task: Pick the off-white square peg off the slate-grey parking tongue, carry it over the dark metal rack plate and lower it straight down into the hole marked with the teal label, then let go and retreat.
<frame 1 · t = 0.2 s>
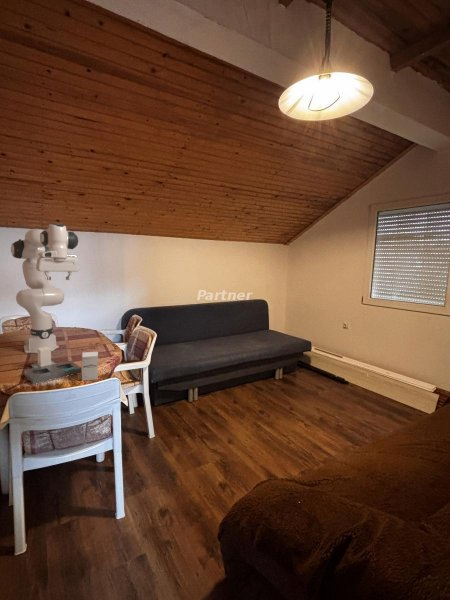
hand: (58, 280, 161), 47 cm above the table, fingers open, 8 cm apart
rack plate: (53, 374, 152), on the table
parking tongue: (44, 366, 161), on the table
supplement box: (89, 378, 151), on the table
peg: (44, 364, 161), point 1 cm above the table, touching parking tongue
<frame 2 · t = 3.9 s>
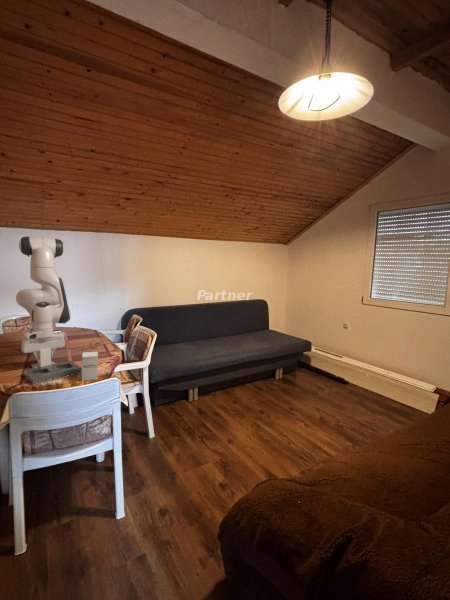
hand: (44, 357, 161), 5 cm above the table, fingers closed on peg, 5 cm apart
peg: (44, 364, 161), point 1 cm above the table, touching gripper, parking tongue
everything else where it was.
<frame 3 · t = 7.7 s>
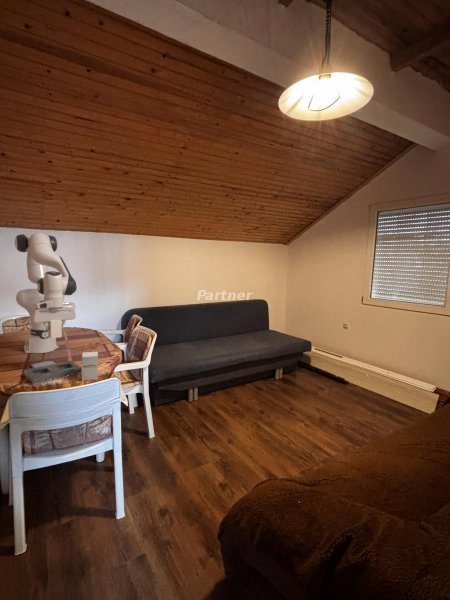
hand: (54, 329, 155), 22 cm above the table, fingers closed on peg, 5 cm apart
peg: (54, 336, 156), point 18 cm above the table, touching gripper
everything else where it was.
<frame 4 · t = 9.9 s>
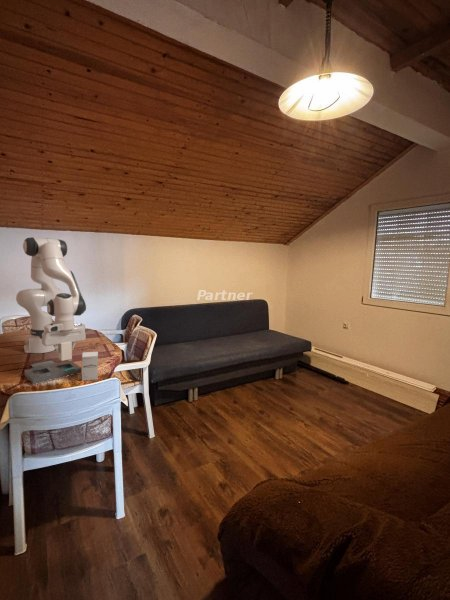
hand: (64, 351, 155), 11 cm above the table, fingers closed on peg, 5 cm apart
peg: (65, 358, 155), point 7 cm above the table, touching gripper
everything else where it was.
when the fingers open (6 cm above the table, at t = 11.6 s): peg drops 2 cm, resting in rack plate.
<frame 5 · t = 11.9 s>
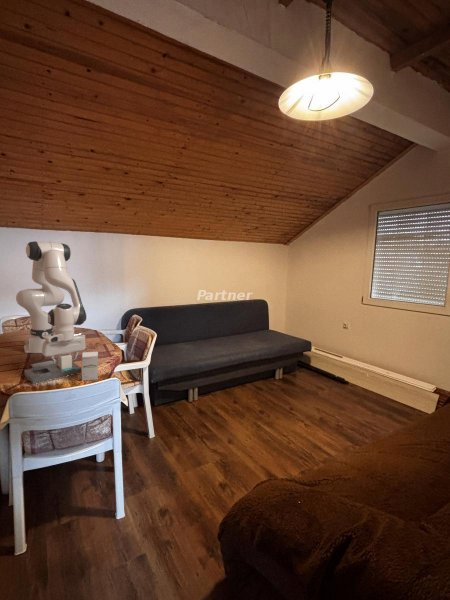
hand: (64, 361, 155), 6 cm above the table, fingers open, 8 cm apart
peg: (65, 372, 156), resting in rack plate
everything else where it was.
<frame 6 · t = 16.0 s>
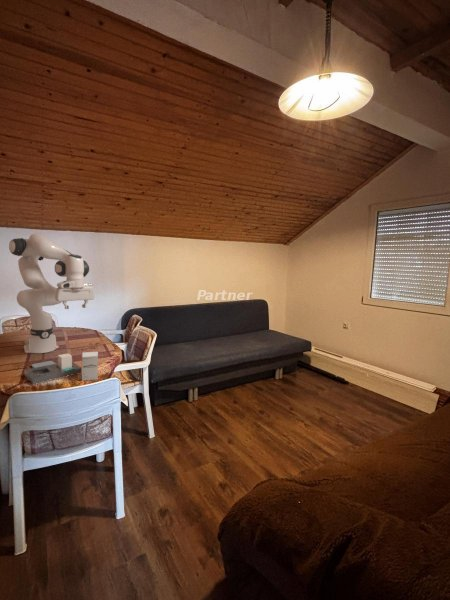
hand: (75, 308, 168), 31 cm above the table, fingers open, 8 cm apart
nothing on the table moved.
at the end: peg 0.0 cm from the target spot on the rack plate, point 0.0 cm above the rack plate's base; peg tilted 0°; the gripper is holding nothing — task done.
